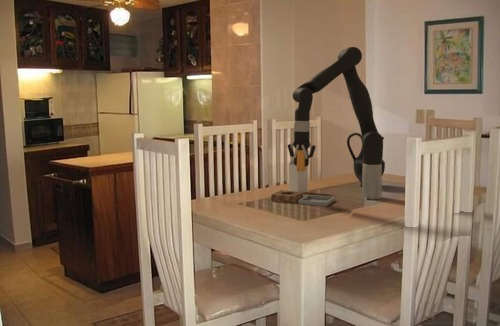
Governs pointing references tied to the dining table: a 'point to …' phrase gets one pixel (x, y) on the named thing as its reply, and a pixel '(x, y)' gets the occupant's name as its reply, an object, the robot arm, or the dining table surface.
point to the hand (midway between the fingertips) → (301, 165)
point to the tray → (316, 200)
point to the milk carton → (297, 178)
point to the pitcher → (360, 159)
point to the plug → (301, 161)
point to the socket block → (287, 196)
